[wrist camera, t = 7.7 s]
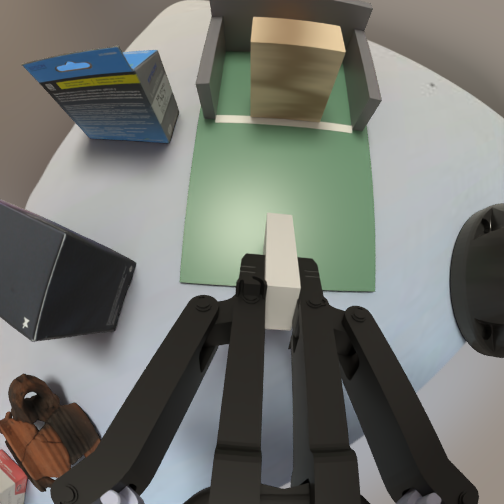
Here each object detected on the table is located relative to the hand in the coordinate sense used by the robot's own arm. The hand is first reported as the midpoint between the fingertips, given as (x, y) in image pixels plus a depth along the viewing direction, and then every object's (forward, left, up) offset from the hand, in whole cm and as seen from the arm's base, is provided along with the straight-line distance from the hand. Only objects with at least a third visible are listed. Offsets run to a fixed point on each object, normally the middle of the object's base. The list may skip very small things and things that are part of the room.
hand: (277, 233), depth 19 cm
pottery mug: (+19, +18, -5) cm, 26 cm away
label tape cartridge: (+13, -11, -5) cm, 18 cm away
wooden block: (-1, -13, -4) cm, 13 cm away
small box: (+16, +3, -5) cm, 17 cm away
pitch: (-1, -9, -5) cm, 10 cm away
